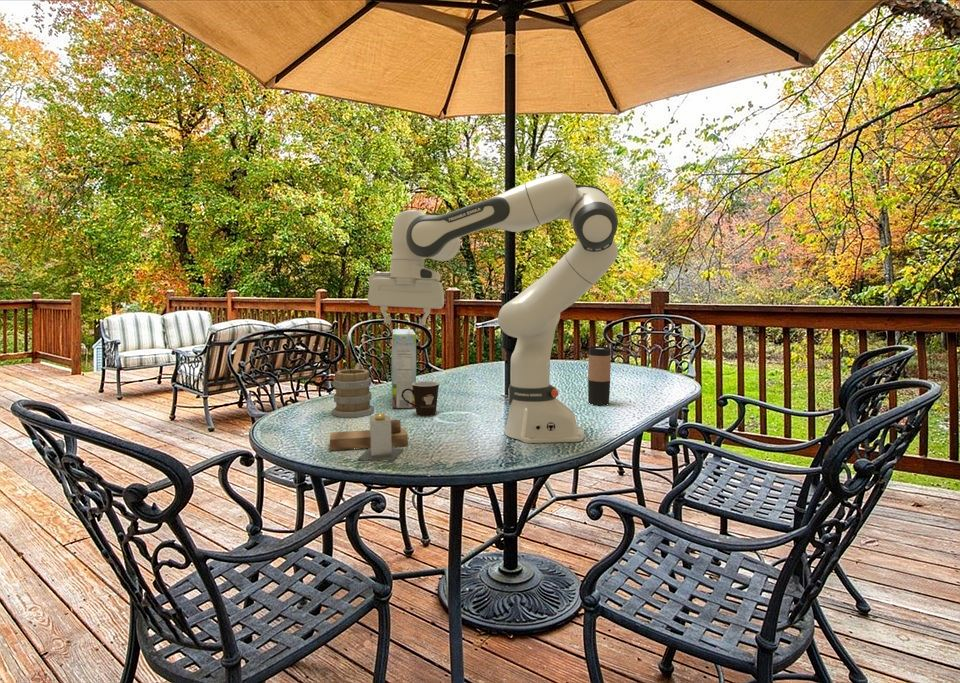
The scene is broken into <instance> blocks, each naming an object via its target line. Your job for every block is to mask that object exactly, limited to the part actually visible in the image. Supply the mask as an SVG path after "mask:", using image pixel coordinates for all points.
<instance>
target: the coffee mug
mask: <svg viewBox="0 0 960 683" xmlns="http://www.w3.org/2000/svg"><path fill="white" fill-rule="evenodd" d="M412 385H413V390H412V389H405V390H403V391H402V398H403V399H404V400H405V401H406V402H407V403H409V404H411V405H413V406H414V407H415V408H414V409H415V412H416V413H415V414H416V415H417V416H420V417H431V415H432V416H436V414H437V406H438V396H439V386H440V383H439V382H437V381H424V380H423V381H416V382H415V383H413V384H412ZM407 390H409V391H411V392H412V393H413V395H414V400H415V404H413V403H411V402H409V401H407V400H406V399H405V398H404V397H403V394H404V392H405V391H407Z"/></svg>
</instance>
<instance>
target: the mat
mask: <svg viewBox="0 0 960 683" xmlns="http://www.w3.org/2000/svg"><path fill="white" fill-rule="evenodd" d="M403 451H404V448H395V447H394V448H393V447H392V456H382V457H371V451H370V448H368V449H366V450H365V451H364V452H363V453H362V454H361V455H360V456H359V457H358V458H357V460H358V459H368V460H388V461H387V462H391V461H394V460H395V459H396V460H397V458H398V457H399V456H400V455H401V454H402V453H403ZM400 453H401V454H400ZM399 454H400V455H399ZM398 455H399V456H398ZM397 456H398V457H397ZM396 457H397V458H396ZM396 460H395V461H396ZM395 461H394V462H395Z"/></svg>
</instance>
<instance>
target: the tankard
mask: <svg viewBox="0 0 960 683" xmlns="http://www.w3.org/2000/svg"><path fill="white" fill-rule="evenodd" d="M362 367H363V366H362V364H361V363H360V362H357V363H356V364H355V367H354V368H348V369H339V370H337V371H336V372H335V373H334V374H335V379H334V380H333V381H332V383H333V388H335V393H334V394H333V402H334V403H336V404H335V407H333V409H332V410H331V415H332V416H335V417H338V418H341V419H345V418H346V419H347V418H350V419H351V418H352V419H355V418H358V419H359V418H361V417H367V416H371V415H372V413H373V412H375V406H374V405H371V403H370V402H371V400H372V392H371V391H370V386H371V385H372V378H371V377H370V370H368V369H362Z"/></svg>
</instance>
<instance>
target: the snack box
mask: <svg viewBox="0 0 960 683" xmlns="http://www.w3.org/2000/svg"><path fill="white" fill-rule="evenodd" d="M391 331H392V333H391V334H392V335H391V336H392V337H391V401H392V409H416V408H415V407H414V406H413V405H411V404H409V403H407V402H406V401H405V400H404V399H403V398H402V391H403V390H405V389H412V390H413V385H412V384H413V383H415V382H417V334H416V333H415V331H414V329H412V328H411V329H410V328H400V329H399V328H394V329H393V328H392V330H391ZM403 397H404V398H405V399H406V400H407V401H409V402H411V403H413V404H415V400H414V395H413V393H412V392H411V391H409V390H407V391H405V392H404V394H403Z"/></svg>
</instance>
